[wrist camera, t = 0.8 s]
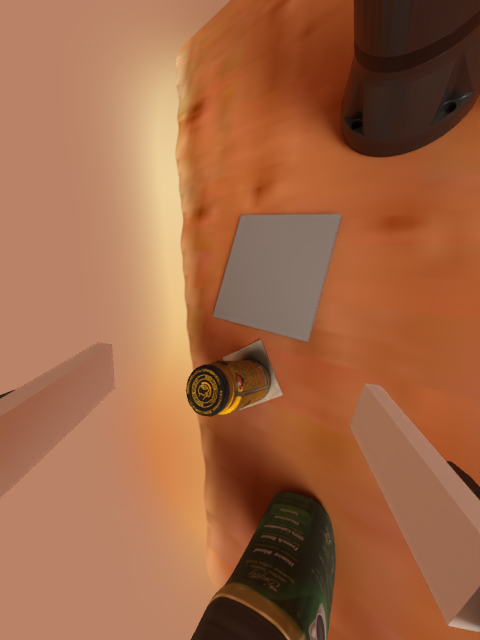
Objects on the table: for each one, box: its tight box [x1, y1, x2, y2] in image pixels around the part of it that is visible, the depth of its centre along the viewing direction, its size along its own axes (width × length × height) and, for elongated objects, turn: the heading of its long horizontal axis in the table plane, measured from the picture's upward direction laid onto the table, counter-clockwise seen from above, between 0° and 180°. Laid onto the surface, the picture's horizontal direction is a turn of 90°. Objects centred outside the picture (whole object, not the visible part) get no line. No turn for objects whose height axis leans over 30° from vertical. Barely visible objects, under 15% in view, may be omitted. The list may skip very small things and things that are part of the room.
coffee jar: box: [191, 492, 336, 640], centre depth 19 cm, size 10×8×19 cm
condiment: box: [186, 339, 282, 417], centre depth 28 cm, size 7×8×12 cm
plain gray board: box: [213, 214, 342, 342], centre depth 34 cm, size 18×16×1 cm
